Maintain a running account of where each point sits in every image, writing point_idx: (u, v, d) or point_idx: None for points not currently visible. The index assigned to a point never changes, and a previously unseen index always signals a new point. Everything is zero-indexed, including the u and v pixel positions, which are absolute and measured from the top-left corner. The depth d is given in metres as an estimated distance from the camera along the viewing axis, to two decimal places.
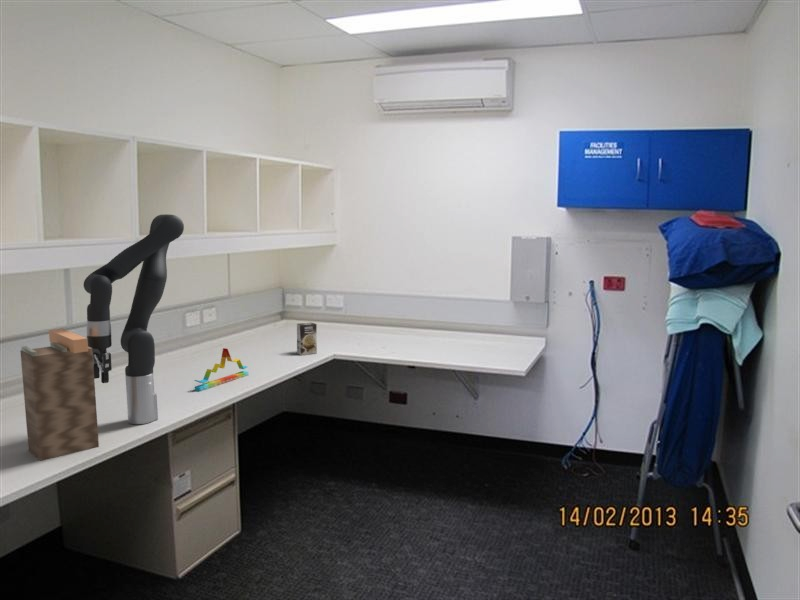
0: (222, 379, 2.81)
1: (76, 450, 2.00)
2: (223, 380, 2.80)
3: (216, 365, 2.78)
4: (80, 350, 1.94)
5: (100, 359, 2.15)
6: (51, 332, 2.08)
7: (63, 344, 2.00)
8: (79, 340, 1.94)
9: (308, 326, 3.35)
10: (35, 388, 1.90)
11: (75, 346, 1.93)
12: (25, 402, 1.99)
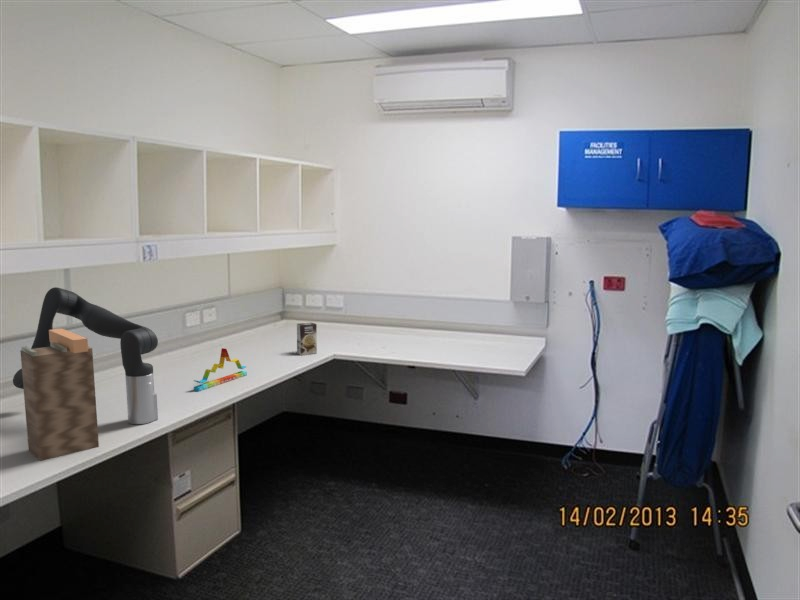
0: (221, 379, 2.81)
1: (76, 450, 2.00)
2: (222, 380, 2.80)
3: (215, 366, 2.78)
4: (80, 350, 1.94)
5: None
6: (51, 332, 2.08)
7: (63, 344, 2.00)
8: (79, 340, 1.94)
9: (308, 326, 3.35)
10: (35, 388, 1.90)
11: (75, 346, 1.93)
12: (25, 402, 1.99)
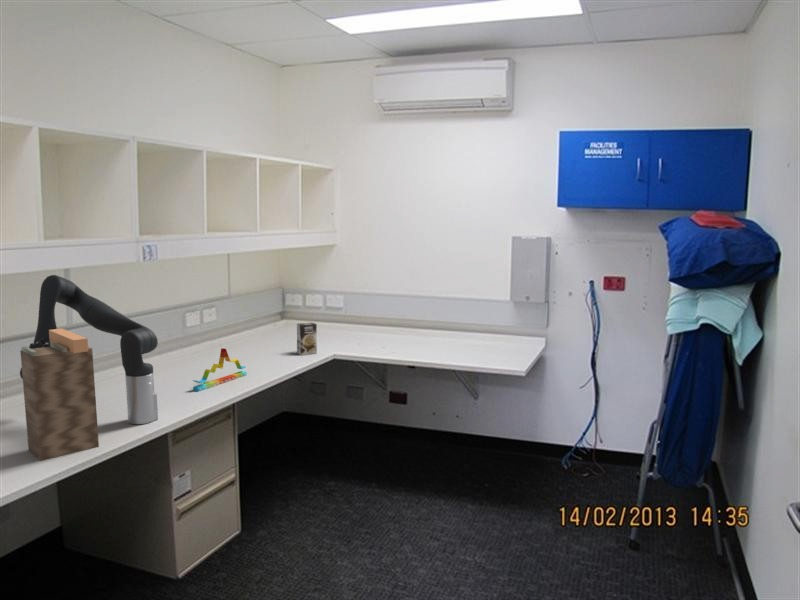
0: (220, 379, 2.81)
1: (76, 450, 2.00)
2: (221, 380, 2.80)
3: (215, 366, 2.78)
4: (80, 350, 1.94)
5: None
6: (51, 332, 2.08)
7: (63, 344, 2.00)
8: (79, 340, 1.94)
9: (308, 326, 3.35)
10: (35, 388, 1.90)
11: (75, 346, 1.93)
12: (25, 402, 1.99)
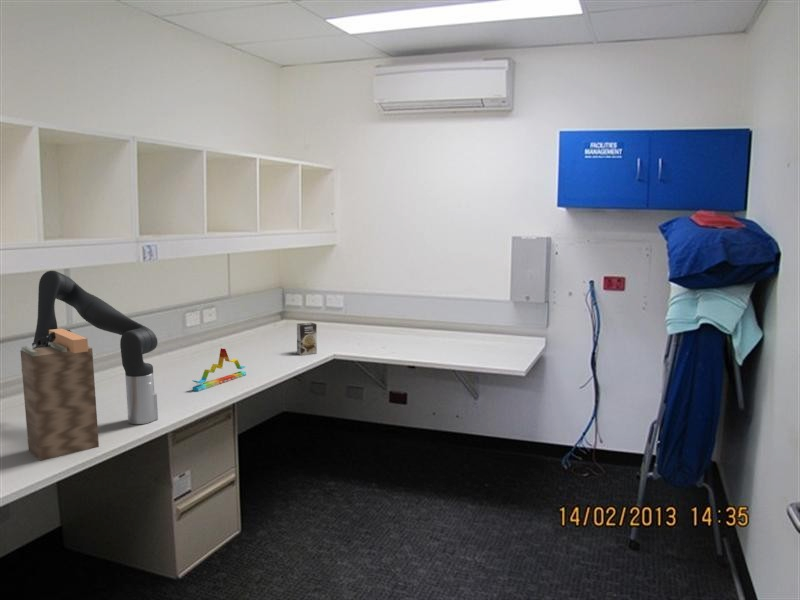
0: (220, 379, 2.81)
1: (76, 450, 2.00)
2: (221, 380, 2.80)
3: (214, 366, 2.78)
4: (80, 350, 1.94)
5: None
6: (51, 332, 2.08)
7: (63, 344, 2.00)
8: (79, 340, 1.94)
9: (308, 326, 3.35)
10: (35, 388, 1.90)
11: (75, 346, 1.93)
12: (25, 402, 1.99)
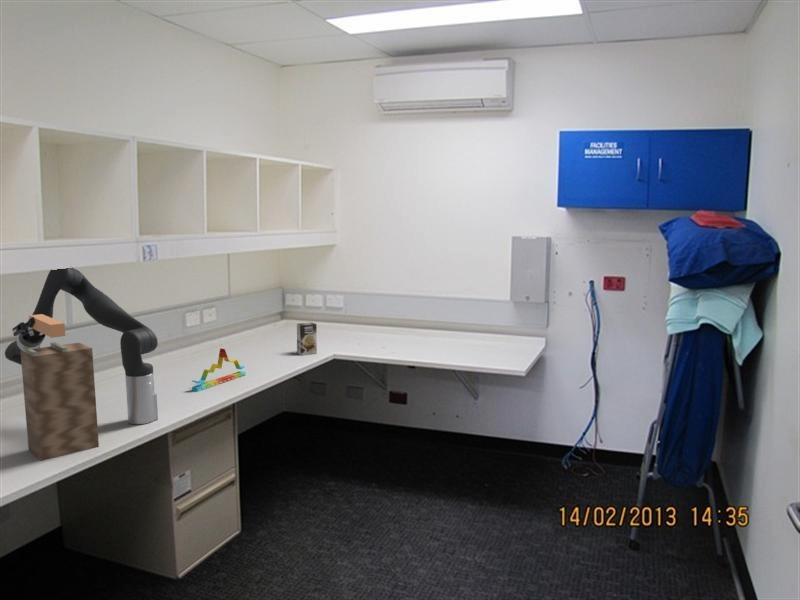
0: (219, 379, 2.80)
1: (76, 450, 2.00)
2: (220, 380, 2.80)
3: (214, 366, 2.78)
4: (57, 335, 1.99)
5: (26, 332, 2.15)
6: None
7: (41, 329, 2.05)
8: (56, 325, 1.98)
9: (308, 326, 3.35)
10: (35, 388, 1.90)
11: (52, 330, 1.98)
12: (25, 402, 1.99)
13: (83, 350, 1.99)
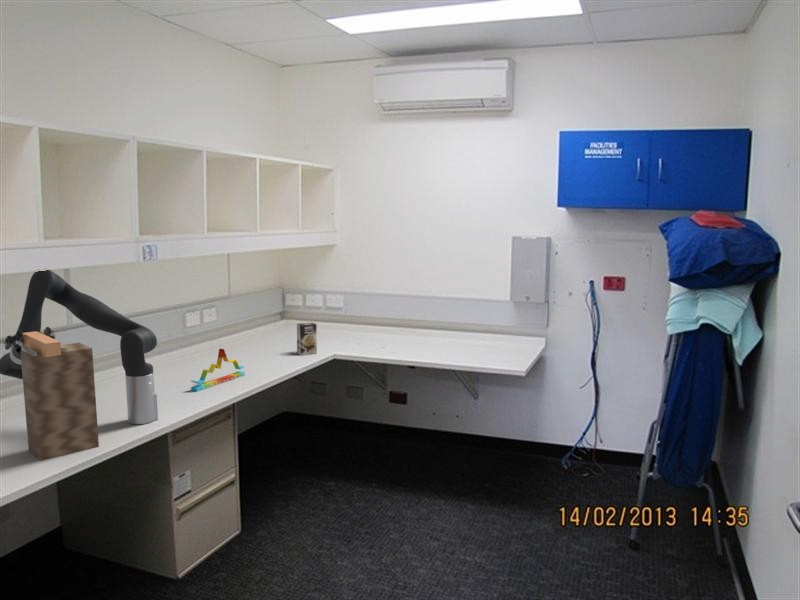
0: (218, 379, 2.80)
1: (76, 450, 2.00)
2: (219, 380, 2.80)
3: (213, 366, 2.78)
4: (53, 354, 1.89)
5: None
6: (25, 335, 2.03)
7: (36, 348, 1.95)
8: (52, 344, 1.89)
9: (308, 326, 3.35)
10: (35, 388, 1.90)
11: (48, 350, 1.88)
12: (25, 402, 1.99)
13: (83, 350, 1.99)
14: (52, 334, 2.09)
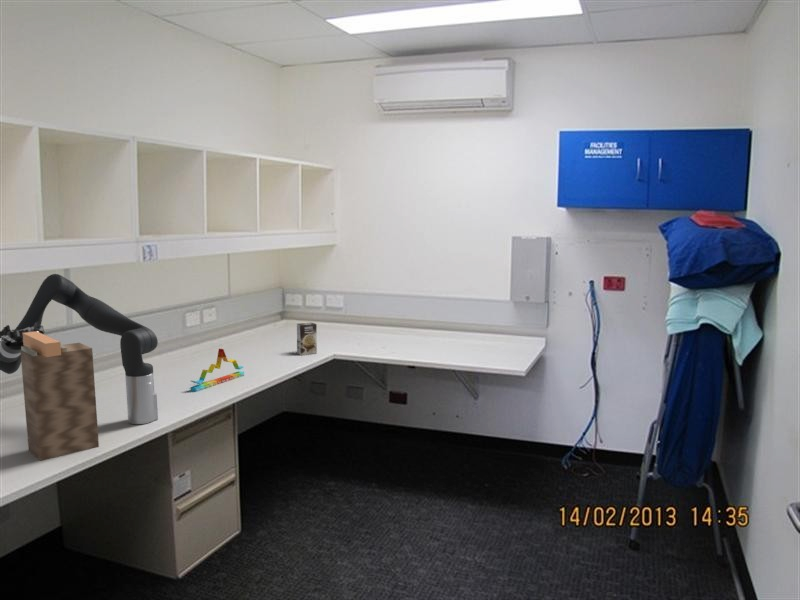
0: (218, 379, 2.80)
1: (76, 450, 2.00)
2: (219, 380, 2.80)
3: (212, 366, 2.78)
4: (53, 354, 1.89)
5: None
6: (25, 335, 2.03)
7: (36, 348, 1.95)
8: (52, 344, 1.89)
9: (308, 326, 3.35)
10: (35, 388, 1.90)
11: (48, 350, 1.88)
12: (25, 402, 1.99)
13: (83, 350, 1.99)
14: (41, 329, 2.18)
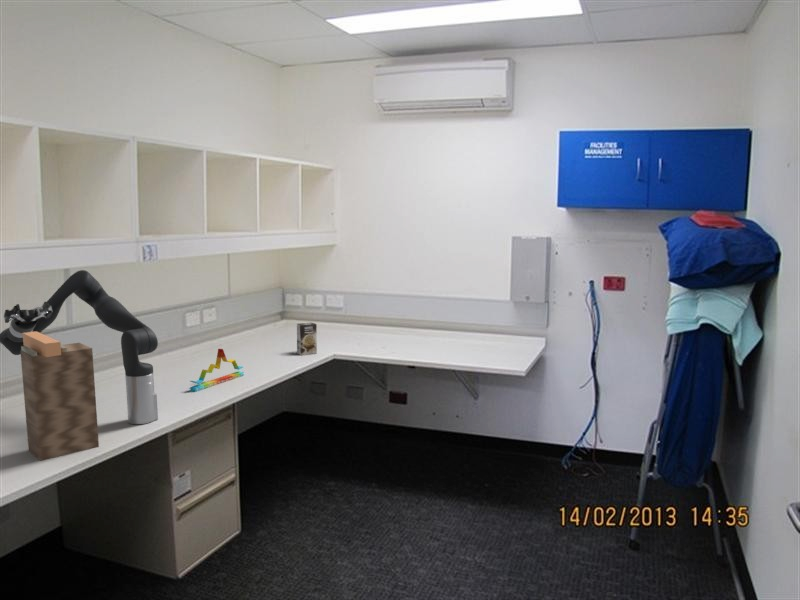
0: (217, 379, 2.80)
1: (76, 450, 2.00)
2: (218, 380, 2.80)
3: (212, 366, 2.78)
4: (53, 354, 1.89)
5: None
6: (25, 335, 2.03)
7: (36, 348, 1.95)
8: (52, 344, 1.89)
9: (308, 326, 3.35)
10: (35, 388, 1.90)
11: (48, 350, 1.88)
12: (25, 402, 1.99)
13: (83, 350, 1.99)
14: (50, 309, 2.24)
